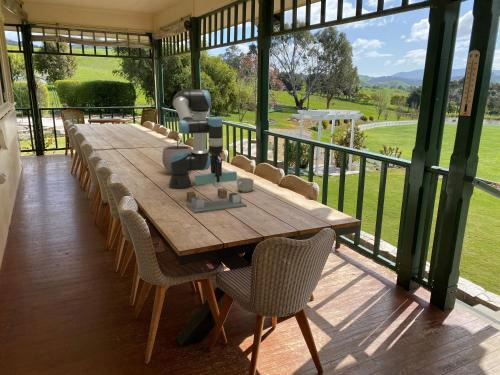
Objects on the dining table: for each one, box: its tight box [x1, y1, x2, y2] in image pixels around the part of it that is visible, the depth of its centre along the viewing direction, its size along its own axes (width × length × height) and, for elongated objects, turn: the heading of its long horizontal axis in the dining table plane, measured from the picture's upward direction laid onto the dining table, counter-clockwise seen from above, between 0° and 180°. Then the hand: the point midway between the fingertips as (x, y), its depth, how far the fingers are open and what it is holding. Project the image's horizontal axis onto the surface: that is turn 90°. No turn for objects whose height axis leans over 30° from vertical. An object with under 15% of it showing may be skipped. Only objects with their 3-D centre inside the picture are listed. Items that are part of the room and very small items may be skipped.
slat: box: [194, 170, 238, 186], centre depth 218 cm, size 3×24×5 cm, turn 116°
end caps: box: [190, 191, 242, 209], centre depth 222 cm, size 7×28×5 cm, turn 116°
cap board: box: [186, 198, 247, 214], centre depth 223 cm, size 15×31×1 cm, turn 116°
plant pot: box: [161, 135, 193, 174], centre depth 301 cm, size 24×24×30 cm
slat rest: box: [186, 187, 228, 204], centre depth 236 cm, size 6×24×5 cm, turn 116°
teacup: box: [236, 177, 255, 193], centre depth 254 cm, size 14×11×8 cm
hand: (216, 186), depth 220 cm, fingers closed on slat, 3 cm apart
